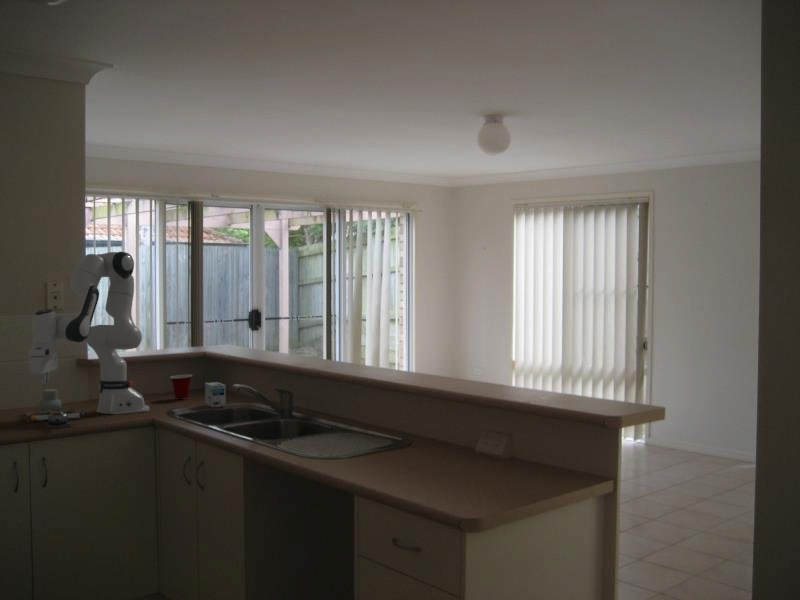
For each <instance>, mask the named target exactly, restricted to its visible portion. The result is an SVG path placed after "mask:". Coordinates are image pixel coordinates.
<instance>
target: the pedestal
mask: <svg viewBox="0 0 800 600" xmlns="http://www.w3.org/2000/svg"><path fill="white" fill-rule="evenodd" d="M70 426H71V422H69V421H67V423H66V424H61V425H50V424H48V423H45V428H46V427H47V428H46V429H50V428H58V429H66V428H69V427H70ZM65 427H66V428H65Z"/></svg>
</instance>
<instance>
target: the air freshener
mask: <svg viewBox="0 0 800 600" xmlns="http://www.w3.org/2000/svg"><path fill="white" fill-rule="evenodd" d="M58 393H59V391H58V389H55V388H52V389H51V388H50V389H49V388H48V389H44V390H43V391H42V400H39V403H38V407H39V412H40V411H47V410H51V411H57V410H63V409H62V408H63V406H62V405H63V404H62V400H61V399H59V396H58V395H59V394H58Z"/></svg>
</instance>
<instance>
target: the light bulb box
mask: <svg viewBox="0 0 800 600" xmlns="http://www.w3.org/2000/svg"><path fill="white" fill-rule="evenodd" d="M226 386H227V385H226V384H223V383H221V382H218V381H216V382H205V383H204V404H205V403H206V404H209V405H211V406H216V405H225V404H226V399H227V398H226V397H227V394H226V393H227V392H226Z"/></svg>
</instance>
